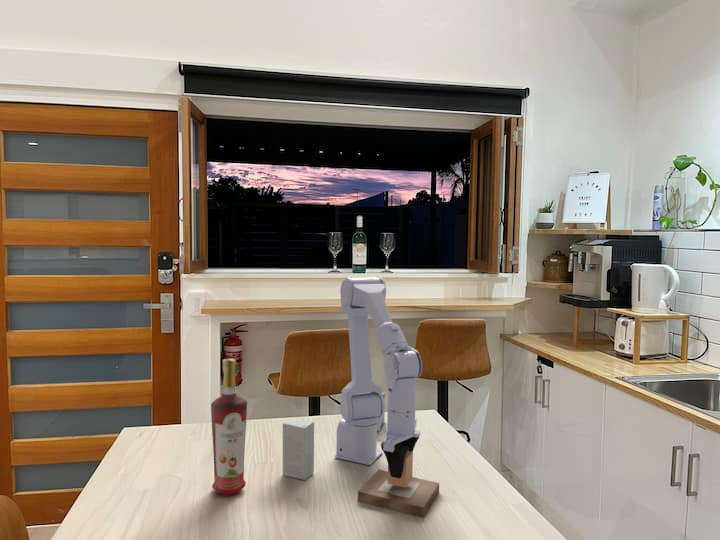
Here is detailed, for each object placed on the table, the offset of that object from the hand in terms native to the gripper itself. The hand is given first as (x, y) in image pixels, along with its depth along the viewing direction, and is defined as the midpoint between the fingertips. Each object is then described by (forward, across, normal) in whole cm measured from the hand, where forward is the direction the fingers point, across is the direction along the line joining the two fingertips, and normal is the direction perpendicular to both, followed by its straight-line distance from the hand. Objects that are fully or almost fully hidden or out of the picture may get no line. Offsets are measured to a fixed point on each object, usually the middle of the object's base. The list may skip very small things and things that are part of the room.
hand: (399, 472), depth 108 cm
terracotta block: (+2, 0, 0) cm, 2 cm away
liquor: (+5, -14, +33) cm, 36 cm away
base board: (+5, 0, 0) cm, 5 cm away
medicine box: (+6, +34, +20) cm, 40 cm away
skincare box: (+5, -1, +24) cm, 25 cm away
